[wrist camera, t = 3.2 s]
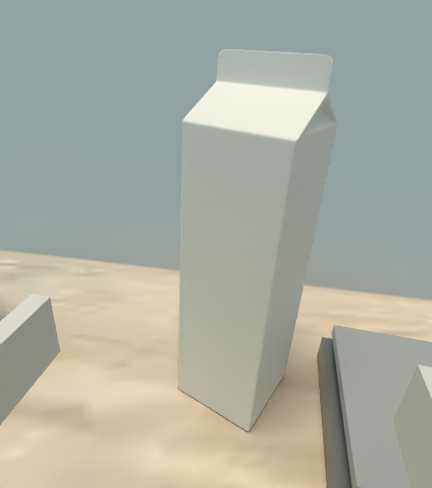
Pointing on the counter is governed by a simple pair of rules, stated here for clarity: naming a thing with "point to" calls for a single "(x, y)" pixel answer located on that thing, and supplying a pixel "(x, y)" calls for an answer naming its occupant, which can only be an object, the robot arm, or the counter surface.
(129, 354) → the counter surface
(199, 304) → the milk
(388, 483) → the kitchen scale
